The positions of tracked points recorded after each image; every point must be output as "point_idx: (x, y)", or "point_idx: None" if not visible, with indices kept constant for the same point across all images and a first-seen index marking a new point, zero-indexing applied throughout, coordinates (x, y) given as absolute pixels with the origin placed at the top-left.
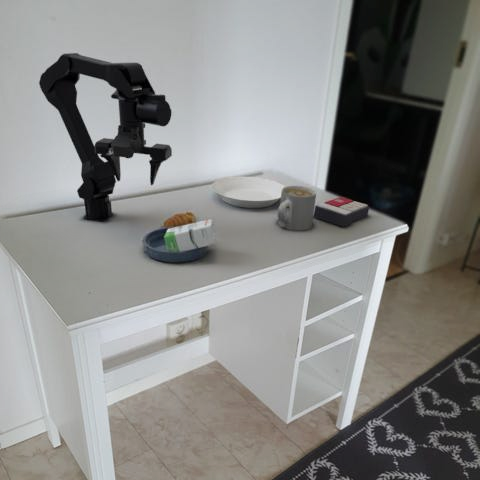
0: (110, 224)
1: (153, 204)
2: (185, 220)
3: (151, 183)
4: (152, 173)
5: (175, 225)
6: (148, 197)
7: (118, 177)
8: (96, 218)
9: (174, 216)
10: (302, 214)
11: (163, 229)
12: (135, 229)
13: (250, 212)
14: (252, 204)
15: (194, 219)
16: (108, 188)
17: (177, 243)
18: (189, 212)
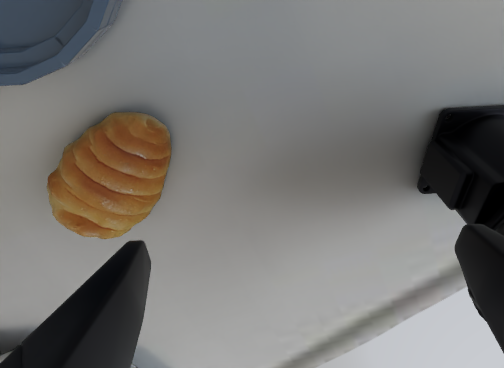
0: (407, 93)
1: (300, 292)
2: (61, 169)
3: (128, 249)
4: (40, 345)
5: (94, 128)
6: (332, 323)
7: (488, 250)
8: (481, 115)
9: (124, 185)
10: None
11: (83, 25)
12: (281, 81)
13: (6, 325)
14: (6, 354)
15: (51, 200)
16: (500, 233)
17: None
18: (87, 233)
